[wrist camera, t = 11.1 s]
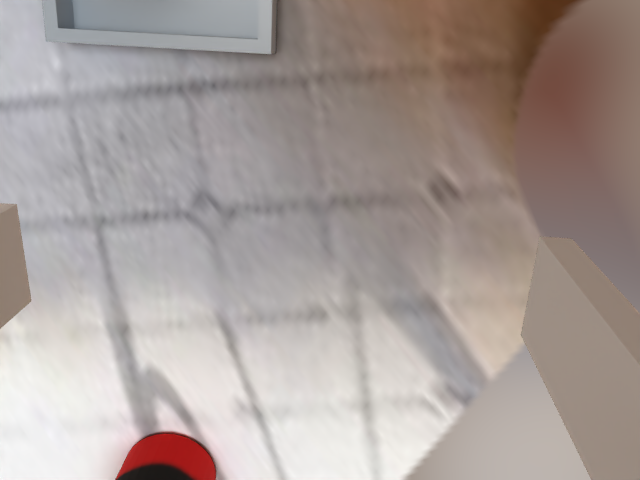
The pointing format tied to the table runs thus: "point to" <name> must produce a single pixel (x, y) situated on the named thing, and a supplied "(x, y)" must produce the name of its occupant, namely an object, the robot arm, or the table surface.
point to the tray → (165, 24)
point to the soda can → (167, 460)
